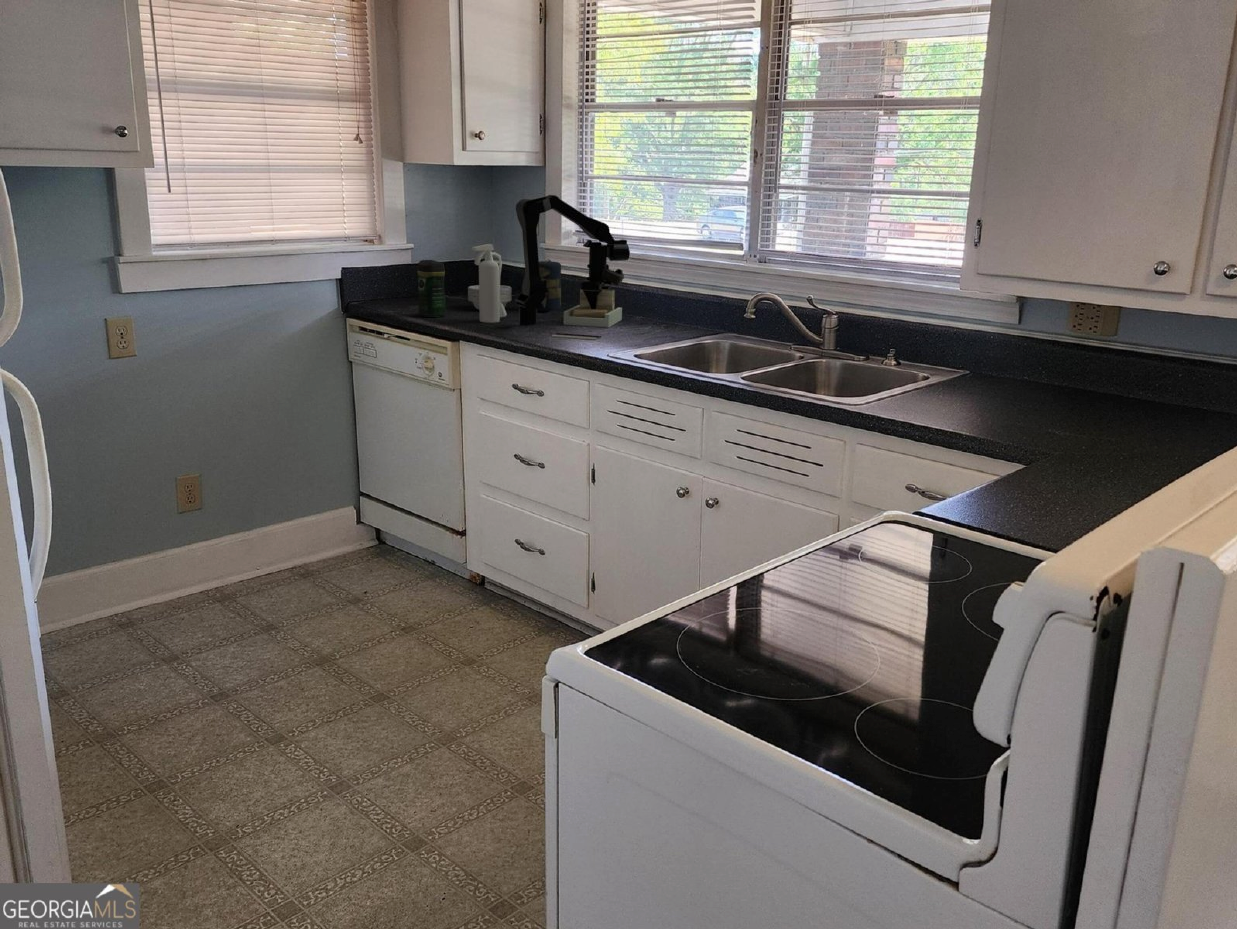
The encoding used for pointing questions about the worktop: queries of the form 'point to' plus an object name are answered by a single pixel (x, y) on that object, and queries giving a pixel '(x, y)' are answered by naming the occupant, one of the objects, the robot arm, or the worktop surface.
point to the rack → (596, 322)
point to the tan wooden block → (599, 300)
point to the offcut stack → (589, 313)
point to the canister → (551, 285)
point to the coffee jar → (431, 288)
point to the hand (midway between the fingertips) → (596, 309)
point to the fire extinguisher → (489, 285)
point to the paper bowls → (504, 297)
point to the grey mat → (576, 336)
